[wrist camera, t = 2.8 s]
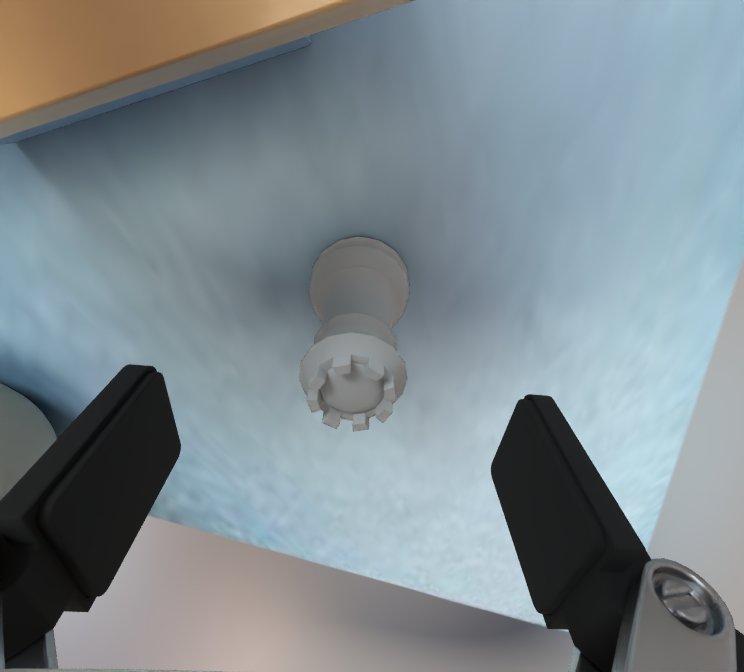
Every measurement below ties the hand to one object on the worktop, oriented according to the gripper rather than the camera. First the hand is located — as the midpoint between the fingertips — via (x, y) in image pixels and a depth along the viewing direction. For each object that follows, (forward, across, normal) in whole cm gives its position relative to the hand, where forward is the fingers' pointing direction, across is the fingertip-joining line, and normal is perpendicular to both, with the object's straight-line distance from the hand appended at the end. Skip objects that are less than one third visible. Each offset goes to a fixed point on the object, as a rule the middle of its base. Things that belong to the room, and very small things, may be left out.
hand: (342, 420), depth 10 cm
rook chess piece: (+9, 0, 0) cm, 9 cm away
